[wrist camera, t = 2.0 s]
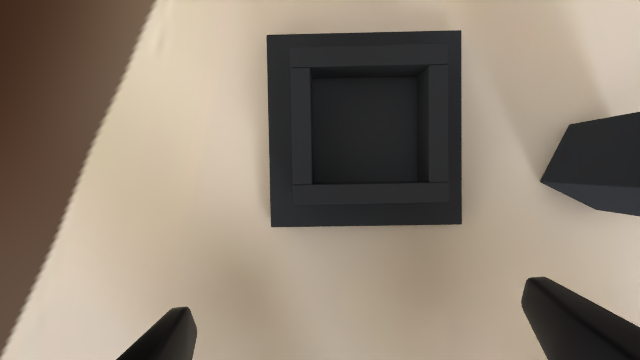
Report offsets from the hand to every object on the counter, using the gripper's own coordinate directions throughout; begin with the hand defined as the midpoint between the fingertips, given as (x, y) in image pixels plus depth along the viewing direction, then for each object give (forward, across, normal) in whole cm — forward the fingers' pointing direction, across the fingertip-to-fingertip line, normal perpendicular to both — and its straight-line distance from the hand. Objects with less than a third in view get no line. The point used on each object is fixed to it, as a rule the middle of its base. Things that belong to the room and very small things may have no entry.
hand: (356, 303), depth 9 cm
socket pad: (+16, -2, 0) cm, 16 cm away
